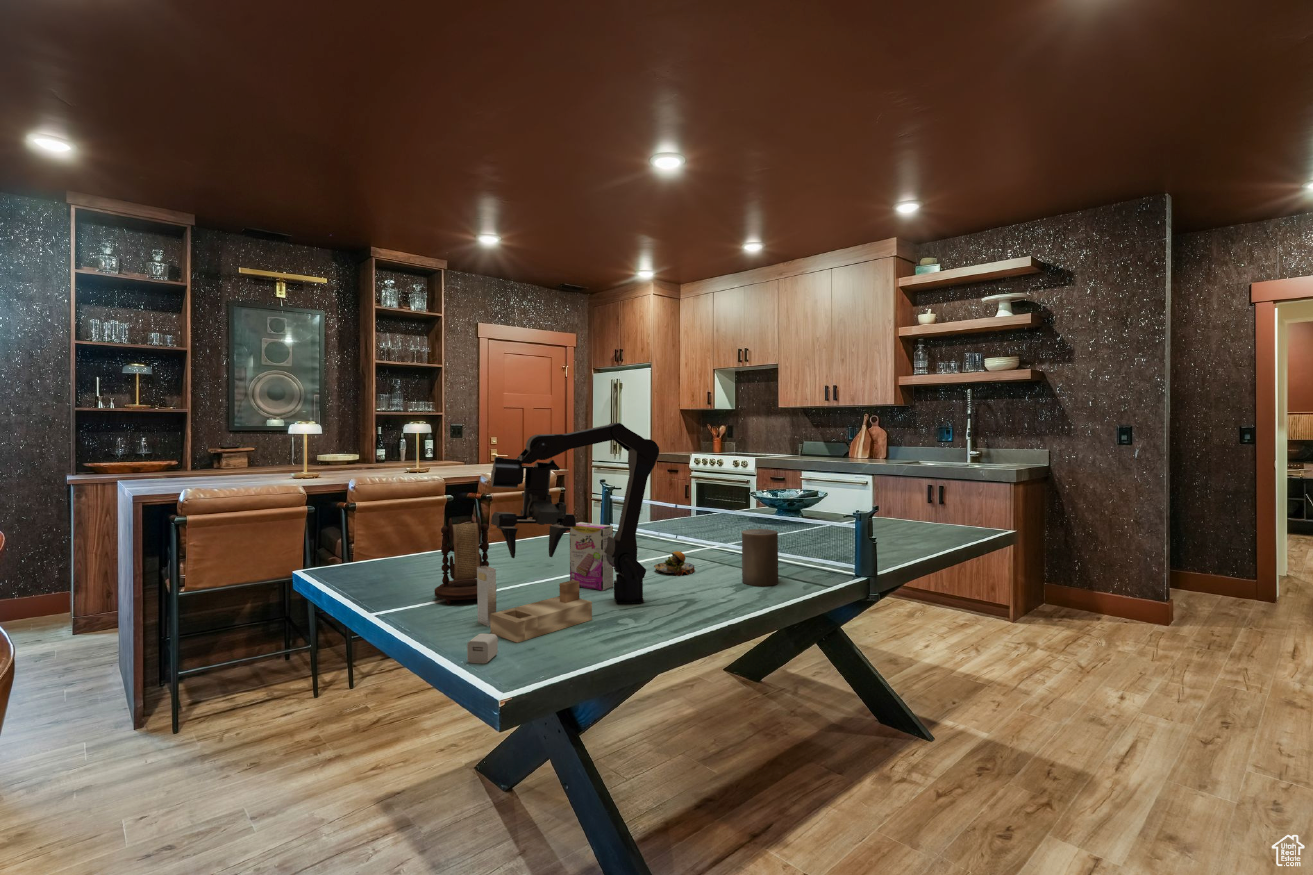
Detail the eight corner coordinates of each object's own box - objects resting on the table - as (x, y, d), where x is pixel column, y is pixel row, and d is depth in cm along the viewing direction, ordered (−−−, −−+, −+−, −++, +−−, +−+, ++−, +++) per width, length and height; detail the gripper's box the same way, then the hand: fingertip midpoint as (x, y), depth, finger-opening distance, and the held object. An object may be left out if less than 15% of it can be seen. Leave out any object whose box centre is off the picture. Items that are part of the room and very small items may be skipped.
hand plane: (565, 612, 153) (564, 577, 153) (592, 619, 147) (591, 583, 147) (490, 633, 139) (490, 594, 138) (517, 642, 133) (516, 602, 132)
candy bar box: (568, 586, 178) (568, 524, 177) (580, 582, 182) (580, 521, 181) (602, 591, 172) (602, 527, 171) (614, 587, 176) (613, 524, 175)
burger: (654, 567, 200) (654, 542, 200) (694, 567, 200) (694, 542, 200) (652, 577, 188) (652, 550, 188) (695, 577, 188) (694, 550, 188)
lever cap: (486, 619, 148) (486, 565, 148) (497, 624, 145) (496, 568, 144) (477, 621, 146) (476, 567, 146) (487, 626, 143) (486, 570, 143)
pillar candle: (781, 586, 176) (781, 529, 175) (743, 586, 176) (743, 529, 175) (775, 577, 185) (775, 523, 185) (739, 577, 185) (739, 523, 185)
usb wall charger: (467, 662, 122) (467, 640, 122) (483, 649, 129) (482, 628, 129) (488, 663, 121) (488, 641, 121) (502, 650, 128) (502, 629, 128)
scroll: (438, 609, 157) (436, 523, 156) (431, 594, 170) (430, 515, 170) (501, 601, 163) (500, 519, 162) (490, 587, 176) (489, 511, 176)
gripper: (510, 490, 142) (505, 564, 142) (589, 492, 152) (584, 561, 152) (492, 486, 152) (487, 556, 151) (568, 489, 162) (563, 554, 161)
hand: (532, 557), depth 154 cm, fingers open, 9 cm apart
